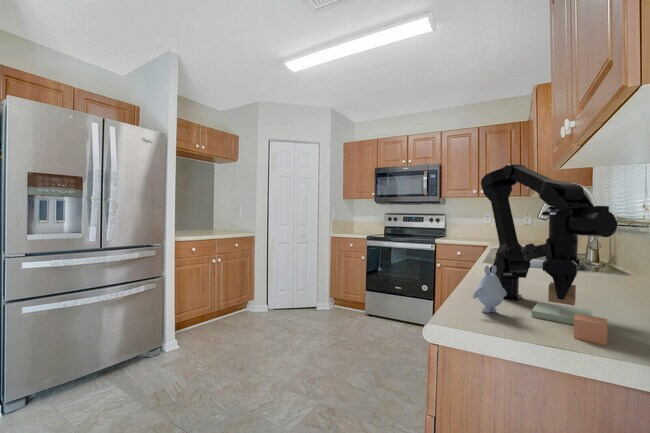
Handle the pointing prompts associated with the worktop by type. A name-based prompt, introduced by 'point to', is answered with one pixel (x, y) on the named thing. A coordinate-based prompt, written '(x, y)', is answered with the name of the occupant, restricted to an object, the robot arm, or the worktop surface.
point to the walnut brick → (568, 298)
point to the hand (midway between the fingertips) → (561, 297)
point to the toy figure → (490, 291)
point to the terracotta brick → (590, 328)
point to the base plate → (557, 312)
